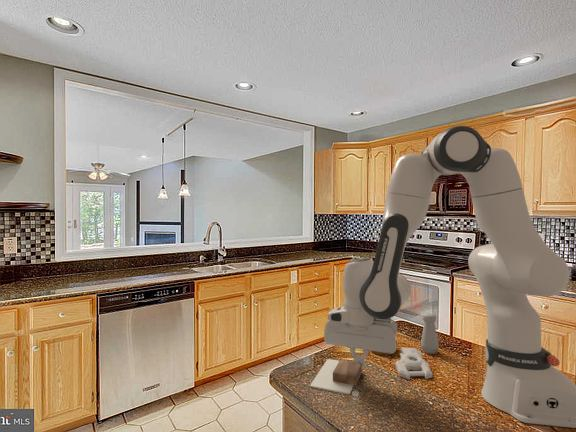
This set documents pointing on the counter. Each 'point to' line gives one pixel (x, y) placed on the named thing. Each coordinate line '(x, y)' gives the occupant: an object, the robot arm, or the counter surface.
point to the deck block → (347, 372)
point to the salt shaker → (429, 334)
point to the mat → (330, 379)
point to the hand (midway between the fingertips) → (359, 363)
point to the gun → (412, 364)
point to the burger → (383, 352)
